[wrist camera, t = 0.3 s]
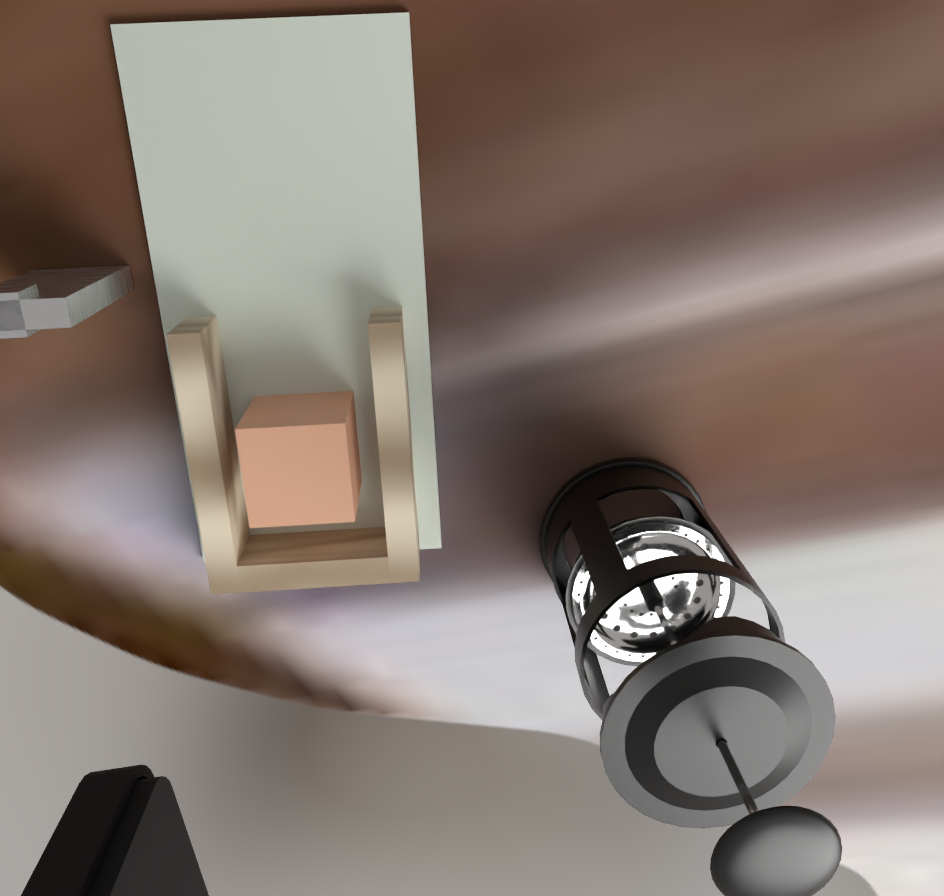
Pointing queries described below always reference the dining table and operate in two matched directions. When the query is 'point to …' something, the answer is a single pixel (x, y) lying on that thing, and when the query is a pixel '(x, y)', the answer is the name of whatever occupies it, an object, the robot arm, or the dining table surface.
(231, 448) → the frame
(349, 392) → the block
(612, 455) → the dining table surface
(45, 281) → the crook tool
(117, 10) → the dining table surface
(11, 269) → the dining table surface
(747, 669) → the french press
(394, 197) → the mat
